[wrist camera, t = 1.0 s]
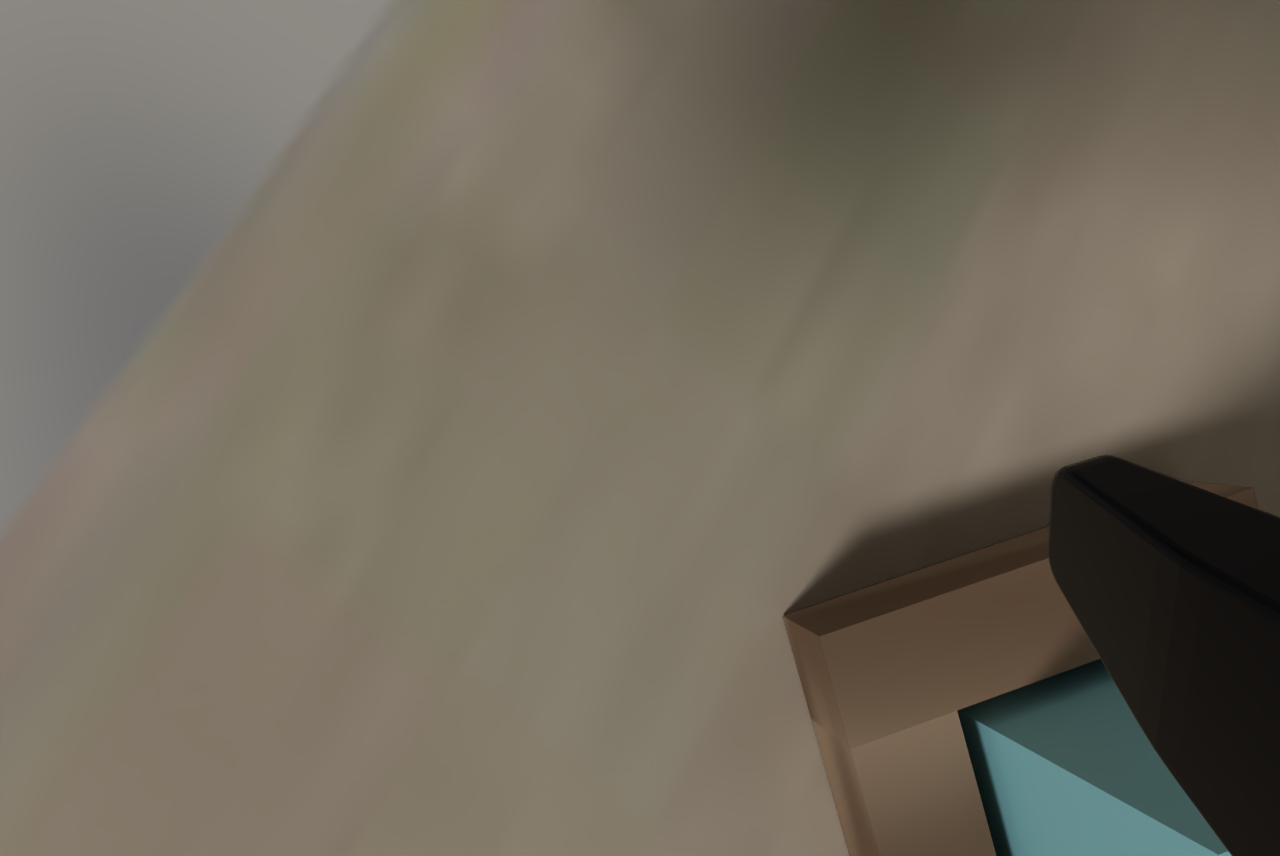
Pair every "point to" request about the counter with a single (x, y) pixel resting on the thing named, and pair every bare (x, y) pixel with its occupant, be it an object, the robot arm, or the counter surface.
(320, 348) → the counter surface
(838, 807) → the brown flat piece
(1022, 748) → the plug
